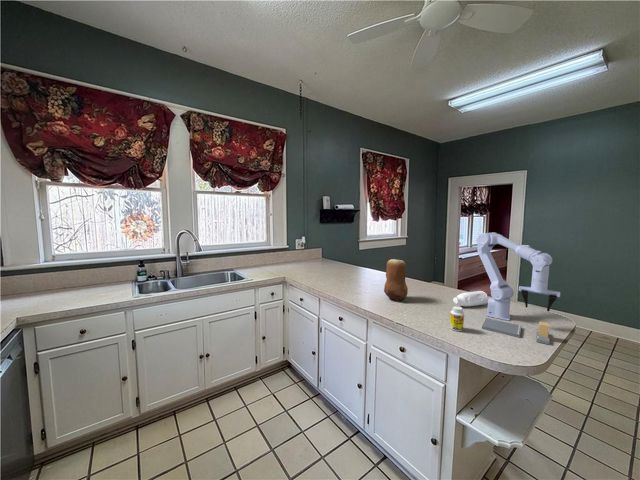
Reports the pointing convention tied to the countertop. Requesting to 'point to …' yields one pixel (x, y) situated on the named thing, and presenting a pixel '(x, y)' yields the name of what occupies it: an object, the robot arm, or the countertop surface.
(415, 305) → the countertop surface
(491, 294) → the robot arm
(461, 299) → the white bottle
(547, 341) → the stub
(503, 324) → the grey studded panel
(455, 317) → the supplement bottle
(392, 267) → the butternut squash
